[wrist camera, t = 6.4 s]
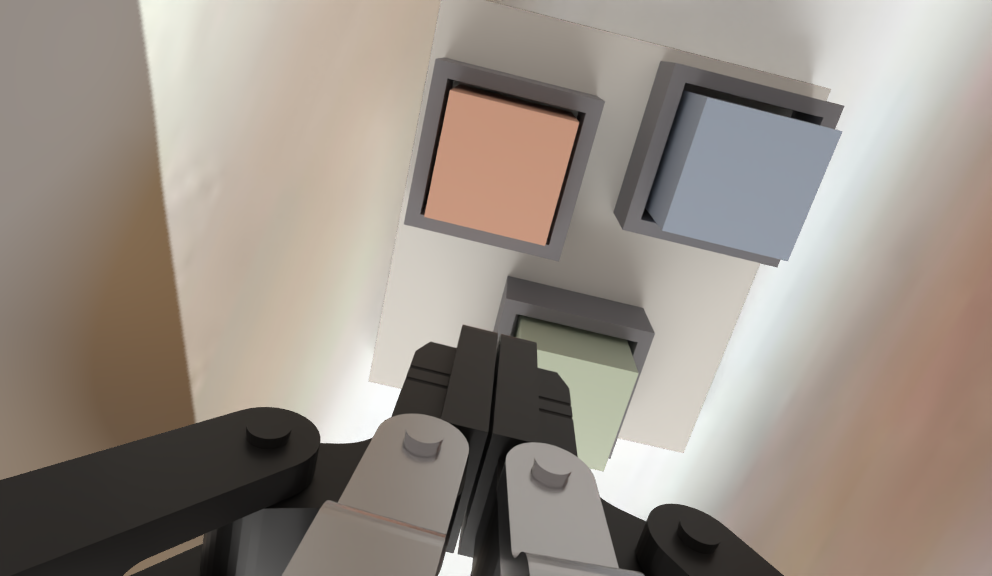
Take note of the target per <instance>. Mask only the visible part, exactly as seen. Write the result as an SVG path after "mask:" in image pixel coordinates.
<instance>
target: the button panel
mask: <svg viewBox="0 0 992 576" xmlns="http://www.w3.org/2000/svg"><path fill="white" fill-rule="evenodd" d="M459 84H461V85H465V86H469V87H473V88H477V89H481V90H485V91H489V92H493V93H497V94H501V95H505V96H509V97H513V98H517V99H521V100H525V101H529V102H533V103H537V104H541V105H545V106H549V107H553V108H557V109H561V110H565V111H569V112H572V113H573V115H574V116H575V117H576V119H577V120H578V121H579V125H578V129H577V133H576V136H575V140H574V143H573V147H572V151H571V154H570V158H569V161H568V165H567V169H566V172H565V176H564V180H563V183H562V187H561V190H560V194H559V198H558V201H557V205H556V208H555V212H554V216H553V219H552V223H551V226H550V230H549V234H548V237H547V241H546V245H545V246H543V245H539V244H535V243H531V242H527V241H522V240H518V239H514V238H510V237H506V236H502V235H497V234H493V233H489V232H485V231H481V230H477V229H473V228H468V227H464V226H460V225H456V224H452V223H448V222H443V221H439V220H435V219H431V218H427V217H424V215H425V210H426V205H427V200H428V195H429V191H430V186H431V181H432V176H433V171H434V166H435V161H436V156H437V151H438V146H439V141H440V136H441V132H442V127H443V122H444V117H445V112H446V107H447V102H448V97H449V92H450V90H451V89H453V88H454V87H456V86H457V85H459ZM683 90H684V91H688V92H692V93H696V94H700V95H704V96H708V97H712V98H716V99H720V100H724V101H728V102H732V103H736V104H739V105H743V106H747V107H751V108H755V109H759V110H763V111H767V112H771V113H775V114H779V115H783V116H787V117H791V118H795V119H798V120H802V121H806V122H809V123H813V124H817V125H821V126H824V127H828V128H832V129H835V127H836V125H837V123H838V120H839V118H840V115H841V113H842V111H843V108H844V106H843V105H839V104H835V103H831V102H827V101H826V100H827V98H828V95H829V93H830V90H831V89H829V88H825V87H821V86H817V85H814V84H810V83H806V82H802V81H798V80H794V79H790V78H786V77H782V76H779V75H775V74H771V73H767V72H763V71H759V70H755V69H751V68H748V67H744V66H740V65H736V64H732V63H728V62H724V61H720V60H716V59H713V58H709V57H705V56H701V55H697V54H693V53H689V52H685V51H681V50H678V49H674V48H670V47H666V46H662V45H658V44H654V43H650V42H646V41H643V40H639V39H635V38H631V37H627V36H623V35H619V34H615V33H611V32H608V31H604V30H600V29H596V28H592V27H588V26H584V25H580V24H576V23H573V22H569V21H565V20H561V19H557V18H553V17H549V16H545V15H542V14H538V13H534V12H530V11H526V10H522V9H518V8H514V7H510V6H507V5H503V4H499V3H495V2H491V1H487V0H441V2H440V8H439V13H438V18H437V23H436V29H435V34H434V39H433V44H432V50H431V55H430V60H429V65H428V71H427V76H426V81H425V87H424V92H423V97H422V102H421V108H420V113H419V118H418V123H417V129H416V134H415V139H414V145H413V150H412V155H411V160H410V166H409V171H408V176H407V181H406V187H405V192H404V197H403V203H402V208H401V213H400V218H399V224H398V229H397V234H396V239H395V245H394V250H393V255H392V261H391V266H390V271H389V276H388V282H387V287H386V292H385V297H384V303H383V308H382V313H381V319H380V324H379V329H378V334H377V340H376V345H375V350H374V355H373V361H372V366H371V371H370V377H369V382H374V383H378V384H382V385H387V386H391V387H395V388H400V389H402V387H403V384H404V381H405V379H406V376H407V373H408V370H409V367H410V365H411V362H412V359H413V356H414V354H415V351H416V350H418V349H419V348H421V347H423V346H424V345H426V344H427V343H429V342H434V343H439V344H443V345H447V346H451V347H455V348H457V344H458V340H459V336H460V332H461V328H462V325H467V326H471V327H475V328H480V329H484V330H488V331H492V332H496V333H498V339H499V337H500V334H504V335H508V336H512V337H513V336H514V332H515V329H516V325H517V321H518V318H519V315H524V316H528V317H532V318H536V319H541V320H545V321H549V322H553V323H558V324H562V325H566V326H570V327H575V328H579V329H583V330H587V331H592V332H596V333H600V334H604V335H609V336H613V337H617V338H621V339H626V340H627V341H628V344H629V347H630V350H631V353H632V356H633V359H634V361H635V364H636V367H637V370H638V373H639V374H638V376H637V379H636V382H635V385H634V388H633V390H632V393H631V396H630V399H629V402H628V404H627V407H626V410H625V413H624V416H623V418H622V421H621V424H620V427H619V430H618V432H617V435H616V438H615V441H614V444H613V446H612V449H611V452H610V455H609V459H610V458H611V455H612V452H613V449H614V447H615V444H616V441H617V438H619V439H624V440H628V441H633V442H637V443H641V444H646V445H650V446H655V447H659V448H663V449H668V450H672V451H677V452H681V453H684V450H685V448H686V446H687V443H688V441H689V438H690V436H691V433H692V431H693V428H694V426H695V423H696V421H697V418H698V416H699V413H700V411H701V409H702V406H703V404H704V401H705V399H706V396H707V394H708V391H709V389H710V386H711V384H712V381H713V379H714V376H715V374H716V372H717V369H718V367H719V364H720V362H721V359H722V357H723V354H724V352H725V349H726V347H727V344H728V342H729V340H730V337H731V335H732V332H733V330H734V327H735V325H736V322H737V320H738V317H739V315H740V312H741V310H742V307H743V305H744V303H745V300H746V298H747V295H748V293H749V290H750V288H751V285H752V283H753V280H754V278H755V275H756V273H757V270H758V268H759V266H760V263H761V264H765V265H769V266H774V267H778V264H779V262H780V259H776V258H772V257H768V256H764V255H760V254H756V253H752V252H748V251H744V250H739V249H735V248H731V247H727V246H723V245H719V244H715V243H711V242H707V241H703V240H698V239H694V238H690V237H686V236H682V235H678V234H674V233H670V232H666V231H662V230H661V229H660V227H659V226H658V225H657V223H656V222H655V221H654V219H653V218H652V217H651V215H650V214H649V212H648V211H647V210H646V208H645V205H646V202H647V199H648V196H649V193H650V190H651V187H652V184H653V181H654V178H655V175H656V172H657V169H658V166H659V162H660V159H661V156H662V153H663V150H664V147H665V144H666V141H667V138H668V135H669V132H670V129H671V126H672V123H673V120H674V117H675V114H676V111H677V107H678V104H679V101H680V98H681V95H682V92H683ZM497 343H498V340H497Z"/></svg>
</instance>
